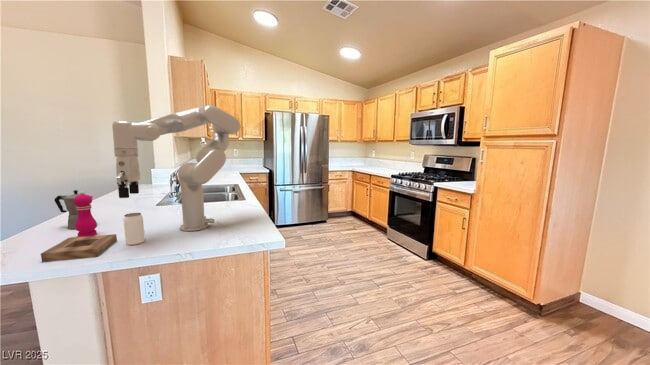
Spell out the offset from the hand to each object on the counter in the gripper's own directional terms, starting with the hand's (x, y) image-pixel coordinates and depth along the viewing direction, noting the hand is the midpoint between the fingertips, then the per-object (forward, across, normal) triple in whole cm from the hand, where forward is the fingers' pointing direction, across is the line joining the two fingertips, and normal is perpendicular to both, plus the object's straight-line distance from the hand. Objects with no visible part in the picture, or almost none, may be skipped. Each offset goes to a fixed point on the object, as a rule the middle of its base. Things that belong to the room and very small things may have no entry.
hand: (129, 195), depth 108 cm
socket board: (+20, -5, +15) cm, 25 cm away
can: (+20, 0, -1) cm, 20 cm away
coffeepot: (+20, +30, +34) cm, 49 cm away
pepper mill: (+20, +14, +22) cm, 33 cm away
